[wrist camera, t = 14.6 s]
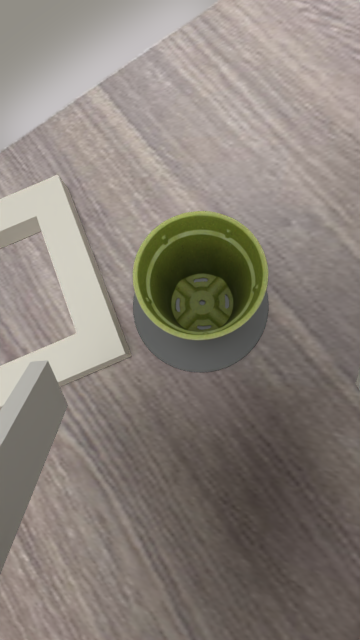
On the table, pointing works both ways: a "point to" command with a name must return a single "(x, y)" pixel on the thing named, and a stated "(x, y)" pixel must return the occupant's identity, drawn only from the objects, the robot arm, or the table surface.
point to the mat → (201, 341)
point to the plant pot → (200, 275)
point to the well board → (63, 285)
